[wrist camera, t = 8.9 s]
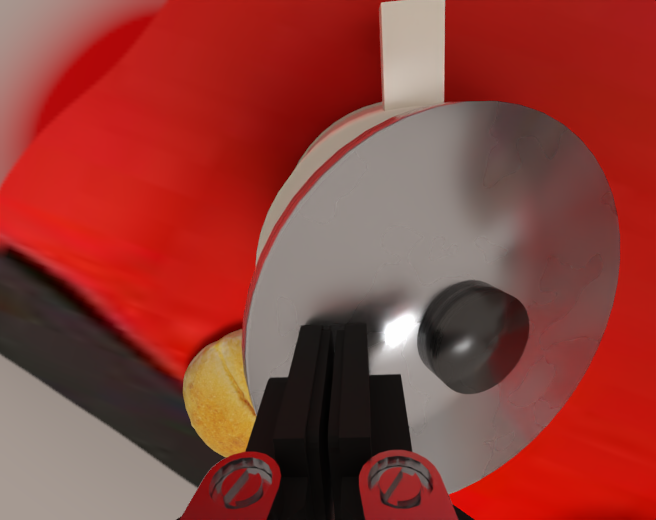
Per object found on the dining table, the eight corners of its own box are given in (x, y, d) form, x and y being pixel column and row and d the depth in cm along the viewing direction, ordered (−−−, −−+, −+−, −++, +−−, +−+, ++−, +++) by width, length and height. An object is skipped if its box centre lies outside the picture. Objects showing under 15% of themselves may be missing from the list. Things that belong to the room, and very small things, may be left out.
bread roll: (359, 404, 28) (360, 452, 24) (238, 449, 30) (221, 501, 26) (296, 296, 26) (287, 332, 22) (169, 353, 27) (140, 395, 24)
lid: (622, 83, 13) (686, 80, 12) (575, 418, 18) (618, 449, 16) (201, 127, 9) (212, 131, 8) (273, 544, 14) (290, 600, 12)
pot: (533, 13, 20) (642, -34, 12) (508, 366, 26) (570, 476, 19) (262, 39, 21) (211, 11, 13) (302, 374, 27) (283, 482, 20)
